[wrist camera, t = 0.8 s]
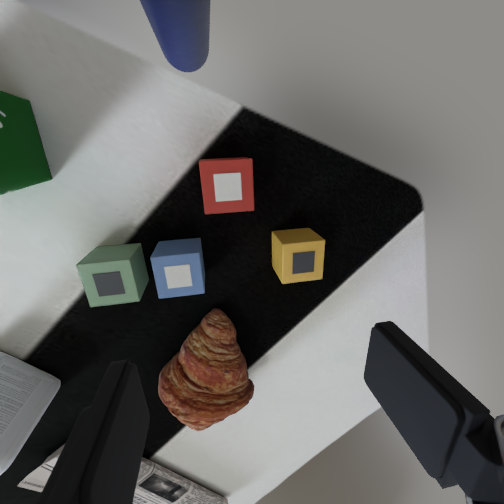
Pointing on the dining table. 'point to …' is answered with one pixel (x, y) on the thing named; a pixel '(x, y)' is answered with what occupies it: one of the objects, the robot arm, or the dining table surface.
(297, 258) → the mustard block
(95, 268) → the sage block
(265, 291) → the dining table surface
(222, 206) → the red block
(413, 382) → the robot arm
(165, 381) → the pastry
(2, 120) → the milk carton
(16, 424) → the photo printer
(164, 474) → the newspaper
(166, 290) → the blue block
